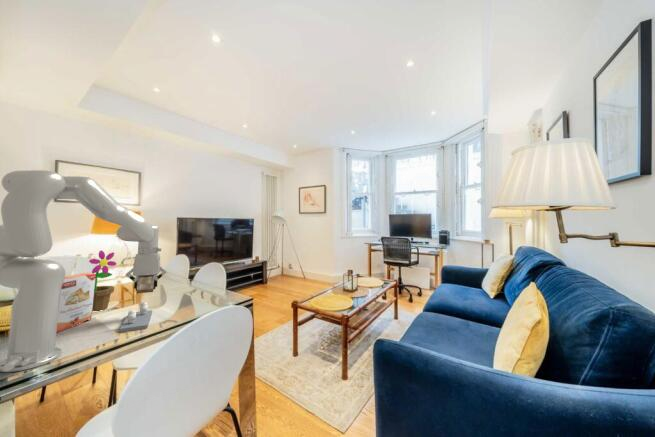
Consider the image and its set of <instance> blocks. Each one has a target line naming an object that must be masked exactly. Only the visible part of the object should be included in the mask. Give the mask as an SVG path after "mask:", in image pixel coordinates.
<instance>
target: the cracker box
mask: <svg viewBox="0 0 655 437" xmlns="http://www.w3.org/2000/svg"><path fill="white" fill-rule="evenodd" d="M95 277H96V273H92V272H90V273H89V272H87V273H85V272H82V273H78V274H71V275H67V276H66V275H65V279H64V282H63V285H62V288H61V291H60V297H59V306H58V307H59V308H58V319H57V331H56V334H57V333H59V332H62V331H64V330H67V329H70V328H72V326H73V327H75V325H76V326H78V325H80V324H79V323H81V324H83V323H82V322H84V321H86V320H89V319H91V320H92V314H93V313H92V307H93V297H94V287H95ZM89 321H90V320H89ZM86 322H87V321H86ZM84 323H85V322H84ZM77 324H78V325H77Z"/></svg>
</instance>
